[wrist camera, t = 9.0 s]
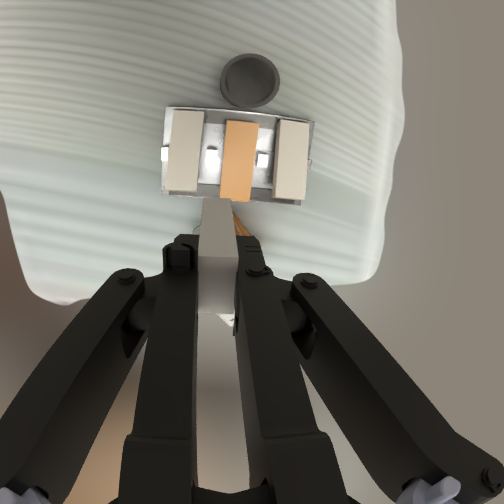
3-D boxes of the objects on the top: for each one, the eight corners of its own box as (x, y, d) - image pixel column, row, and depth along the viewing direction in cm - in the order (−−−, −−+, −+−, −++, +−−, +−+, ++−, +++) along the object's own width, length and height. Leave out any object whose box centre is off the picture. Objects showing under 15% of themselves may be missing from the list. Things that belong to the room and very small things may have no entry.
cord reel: (223, 61, 31) (224, 50, 24) (269, 66, 32) (283, 58, 25) (217, 105, 34) (217, 105, 27) (264, 109, 35) (275, 111, 28)
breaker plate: (168, 106, 33) (163, 106, 30) (309, 120, 36) (318, 122, 33) (163, 190, 38) (159, 199, 35) (296, 200, 41) (303, 209, 38)
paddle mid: (226, 119, 31) (227, 120, 30) (256, 122, 32) (259, 123, 30) (219, 194, 36) (219, 199, 34) (247, 196, 36) (249, 202, 34)
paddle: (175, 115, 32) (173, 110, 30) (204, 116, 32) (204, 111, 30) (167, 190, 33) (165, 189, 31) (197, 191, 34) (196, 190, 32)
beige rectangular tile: (276, 123, 34) (280, 119, 32) (304, 128, 34) (309, 123, 32) (271, 197, 35) (275, 196, 33) (299, 200, 35) (304, 199, 33)
